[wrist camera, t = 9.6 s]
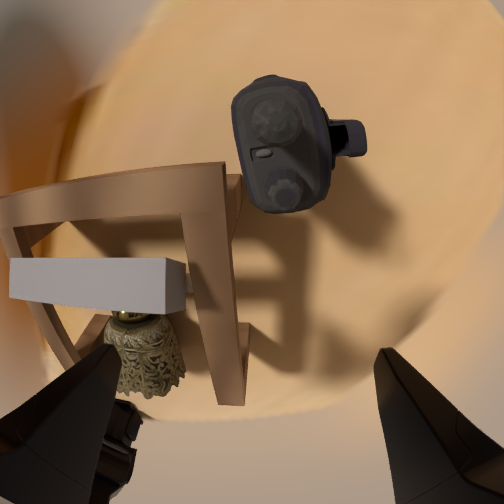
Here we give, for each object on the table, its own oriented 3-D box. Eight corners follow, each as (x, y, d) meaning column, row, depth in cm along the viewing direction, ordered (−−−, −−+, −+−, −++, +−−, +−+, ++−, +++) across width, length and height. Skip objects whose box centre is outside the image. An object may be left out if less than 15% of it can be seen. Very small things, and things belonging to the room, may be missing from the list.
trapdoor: (99, 271, 23) (98, 297, 23) (10, 257, 12) (9, 297, 12) (214, 272, 23) (214, 302, 22) (165, 257, 12) (165, 314, 11)
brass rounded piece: (168, 321, 18) (183, 401, 21) (180, 279, 25) (188, 350, 28) (74, 319, 17) (102, 396, 20) (105, 280, 24) (121, 349, 27)
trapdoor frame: (101, 328, 27) (71, 379, 20) (52, 171, 19) (-10, 201, 12) (249, 338, 26) (244, 406, 19) (239, 144, 18) (222, 165, 11)
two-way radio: (242, 95, 16) (155, 40, 3) (310, 84, 16) (444, 19, 2) (259, 174, 19) (238, 345, 5) (324, 164, 18) (445, 307, 5)
